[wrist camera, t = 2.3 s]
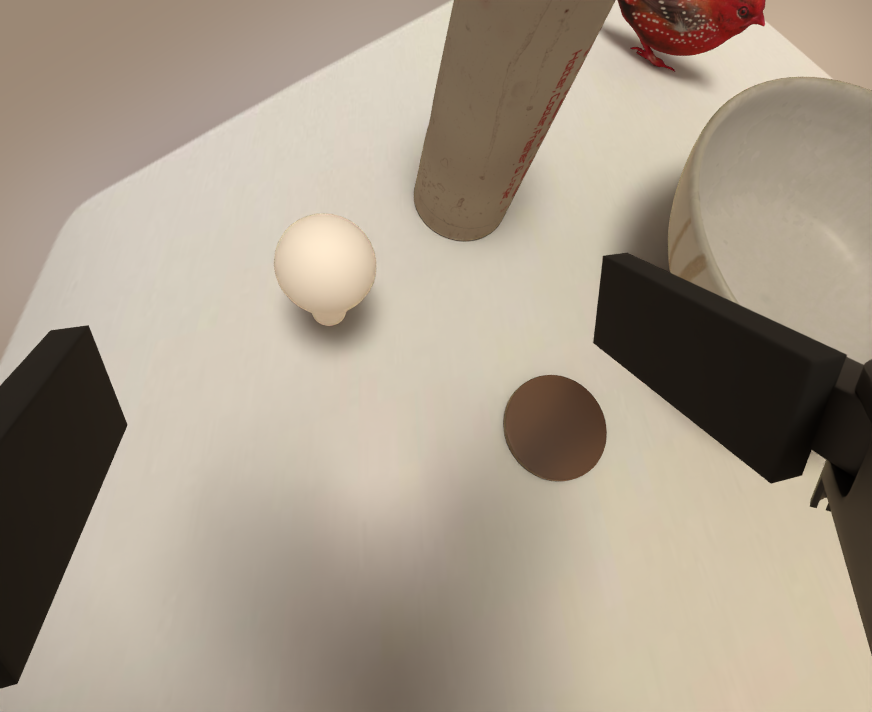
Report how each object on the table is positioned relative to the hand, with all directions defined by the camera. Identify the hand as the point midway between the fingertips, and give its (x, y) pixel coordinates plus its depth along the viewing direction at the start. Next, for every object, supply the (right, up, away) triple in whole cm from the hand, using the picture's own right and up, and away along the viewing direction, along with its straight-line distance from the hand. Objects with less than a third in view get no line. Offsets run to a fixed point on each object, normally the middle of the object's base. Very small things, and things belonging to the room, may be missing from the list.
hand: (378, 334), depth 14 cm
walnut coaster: (+10, -6, +26) cm, 29 cm away
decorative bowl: (+29, +4, +33) cm, 44 cm away
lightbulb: (-7, +3, +26) cm, 27 cm away
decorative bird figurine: (+22, +31, +40) cm, 55 cm away
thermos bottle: (+3, +13, +31) cm, 34 cm away
